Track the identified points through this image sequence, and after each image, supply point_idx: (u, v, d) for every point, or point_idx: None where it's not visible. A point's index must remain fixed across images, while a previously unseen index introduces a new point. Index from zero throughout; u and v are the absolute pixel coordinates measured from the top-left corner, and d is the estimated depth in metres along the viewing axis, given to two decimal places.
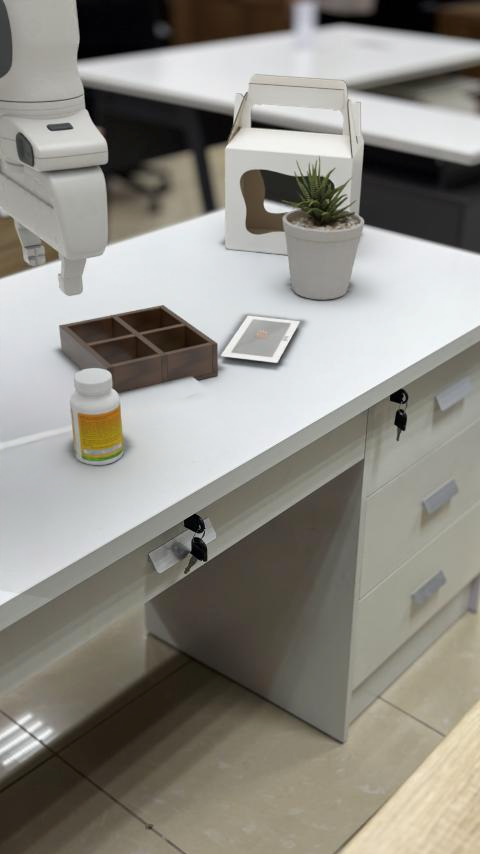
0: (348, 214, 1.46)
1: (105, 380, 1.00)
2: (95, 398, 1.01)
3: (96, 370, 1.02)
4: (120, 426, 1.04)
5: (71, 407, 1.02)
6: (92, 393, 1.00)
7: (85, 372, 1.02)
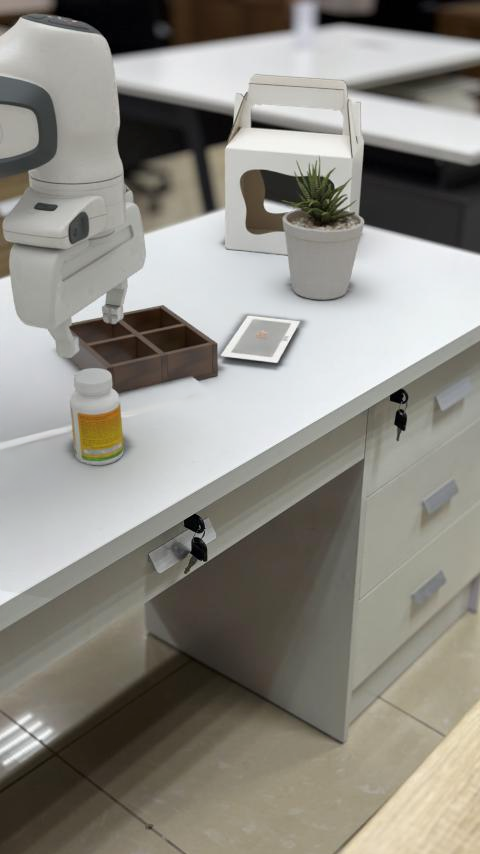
0: (348, 214, 1.46)
1: (105, 380, 1.00)
2: (95, 398, 1.01)
3: (96, 370, 1.02)
4: (120, 426, 1.04)
5: (71, 407, 1.02)
6: (92, 393, 1.00)
7: (85, 372, 1.02)
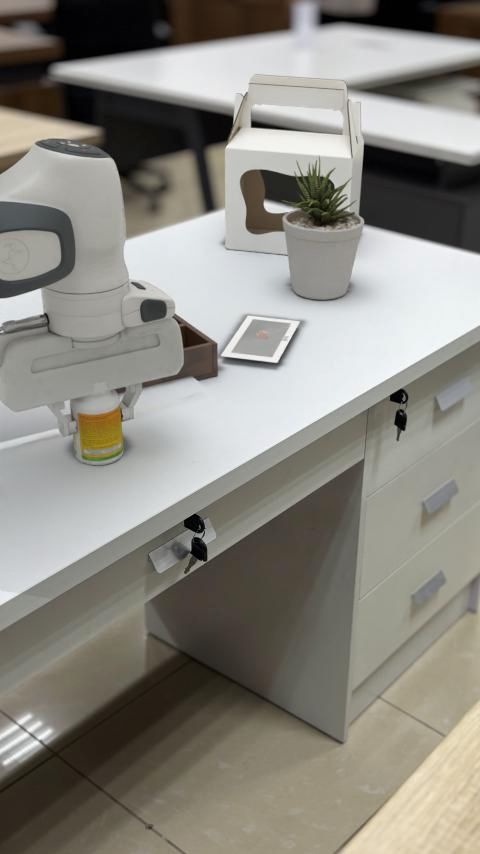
0: (348, 214, 1.46)
1: None
2: (95, 398, 1.01)
3: None
4: (120, 426, 1.04)
5: (71, 407, 1.02)
6: None
7: None
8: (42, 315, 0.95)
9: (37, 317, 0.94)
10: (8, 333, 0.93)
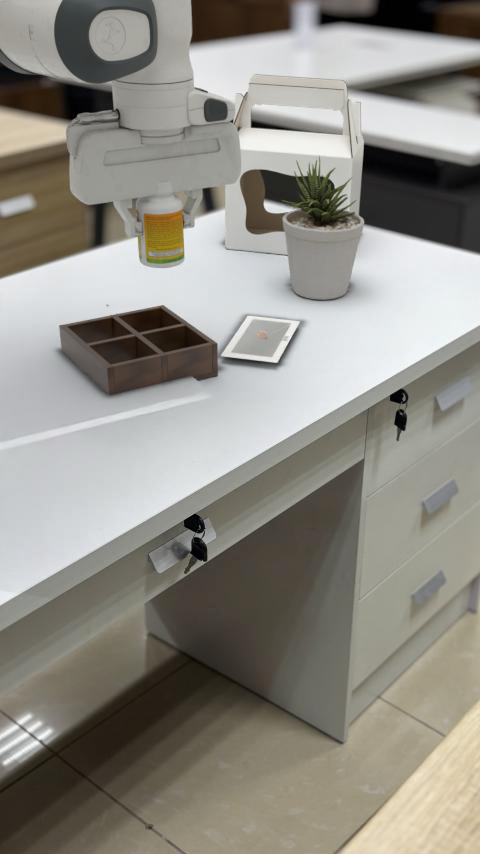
0: (348, 214, 1.46)
1: None
2: (160, 199, 1.07)
3: None
4: (182, 231, 1.11)
5: (137, 209, 1.09)
6: (157, 193, 1.07)
7: None
8: (113, 110, 1.01)
9: (109, 111, 1.01)
10: (83, 125, 1.00)
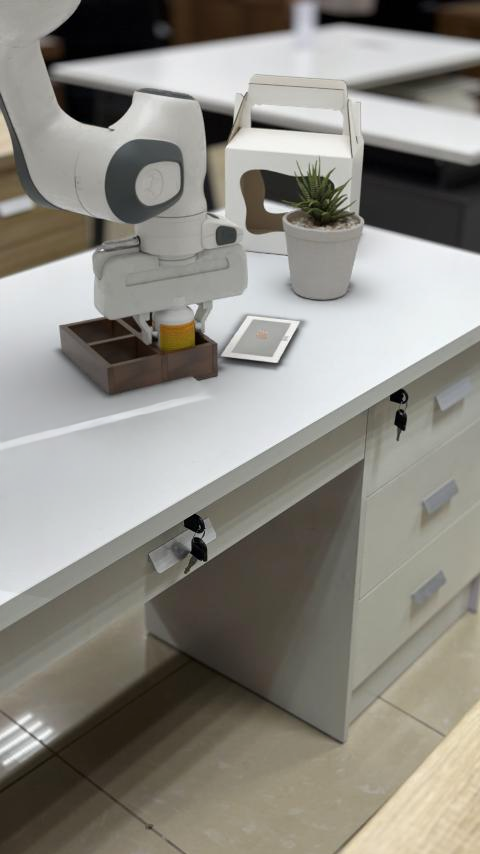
0: (348, 214, 1.46)
1: None
2: (175, 311, 1.19)
3: None
4: (194, 338, 1.22)
5: (153, 320, 1.20)
6: (172, 306, 1.18)
7: None
8: (135, 237, 1.13)
9: (131, 238, 1.13)
10: (107, 251, 1.12)
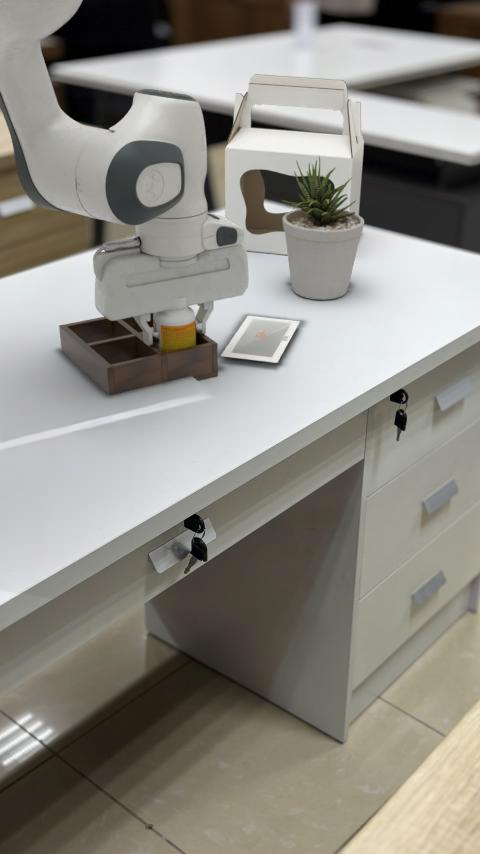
0: (348, 214, 1.46)
1: None
2: (176, 312, 1.19)
3: None
4: (195, 338, 1.22)
5: (154, 320, 1.20)
6: (173, 307, 1.18)
7: None
8: (135, 238, 1.13)
9: (132, 239, 1.13)
10: (108, 252, 1.12)
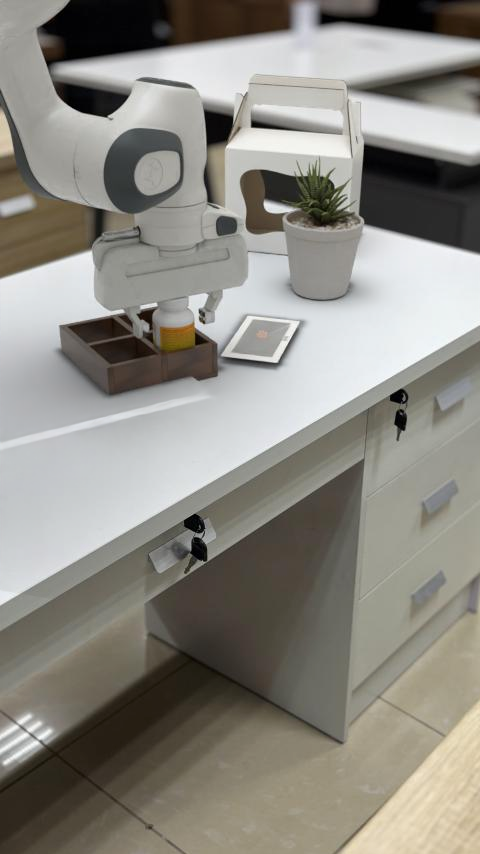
0: (348, 214, 1.46)
1: (184, 298, 1.19)
2: (175, 313, 1.19)
3: None
4: (194, 340, 1.22)
5: (154, 322, 1.20)
6: (173, 309, 1.19)
7: None
8: (135, 227, 1.12)
9: (131, 229, 1.12)
10: (107, 242, 1.11)
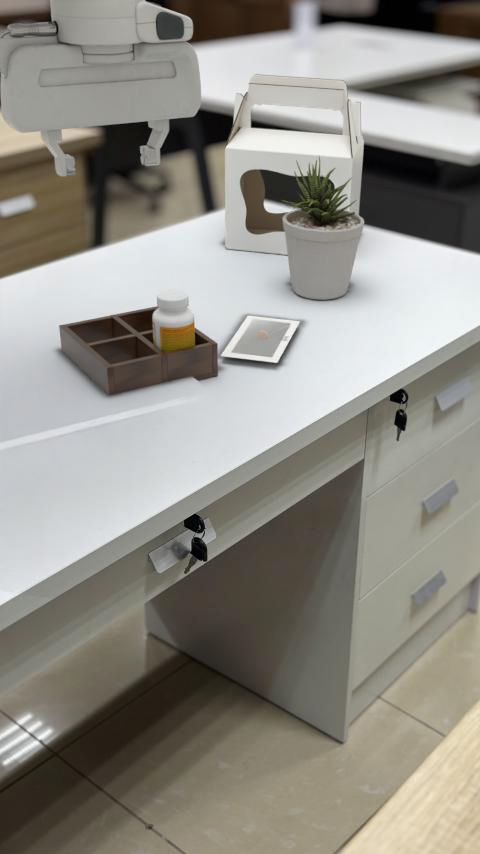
0: (348, 214, 1.46)
1: (184, 298, 1.19)
2: (175, 313, 1.19)
3: (174, 291, 1.21)
4: (194, 340, 1.22)
5: (154, 322, 1.20)
6: (173, 309, 1.19)
7: (165, 293, 1.20)
8: (51, 22, 0.88)
9: (45, 23, 0.88)
10: (14, 37, 0.87)
